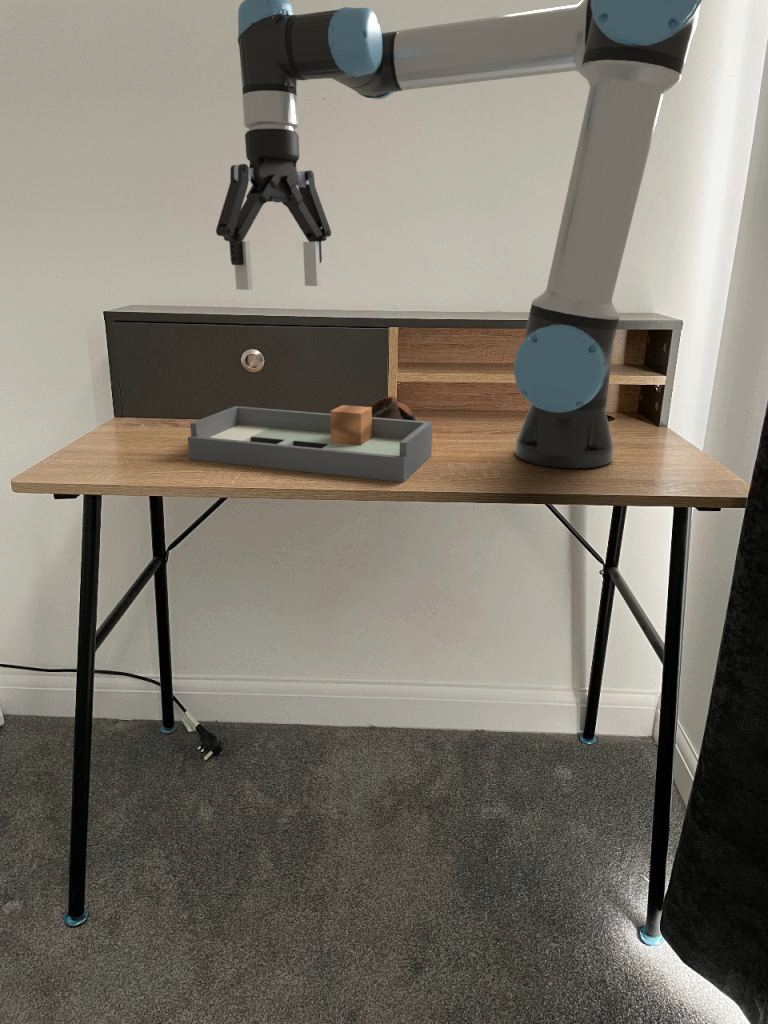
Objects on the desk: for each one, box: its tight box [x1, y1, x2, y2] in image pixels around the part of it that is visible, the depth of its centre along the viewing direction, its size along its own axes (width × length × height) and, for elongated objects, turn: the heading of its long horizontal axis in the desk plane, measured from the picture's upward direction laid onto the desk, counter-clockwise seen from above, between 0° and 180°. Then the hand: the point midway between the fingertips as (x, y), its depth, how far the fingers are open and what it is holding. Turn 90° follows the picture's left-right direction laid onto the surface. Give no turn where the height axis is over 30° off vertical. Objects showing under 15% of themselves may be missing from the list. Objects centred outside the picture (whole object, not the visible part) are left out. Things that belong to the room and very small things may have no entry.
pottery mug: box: [368, 395, 417, 421], centre depth 130 cm, size 12×10×8 cm
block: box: [330, 404, 373, 445], centre depth 117 cm, size 5×5×5 cm
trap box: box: [187, 405, 433, 483], centre depth 116 cm, size 35×15×6 cm, turn 71°
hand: (280, 287), depth 111 cm, fingers open, 13 cm apart
